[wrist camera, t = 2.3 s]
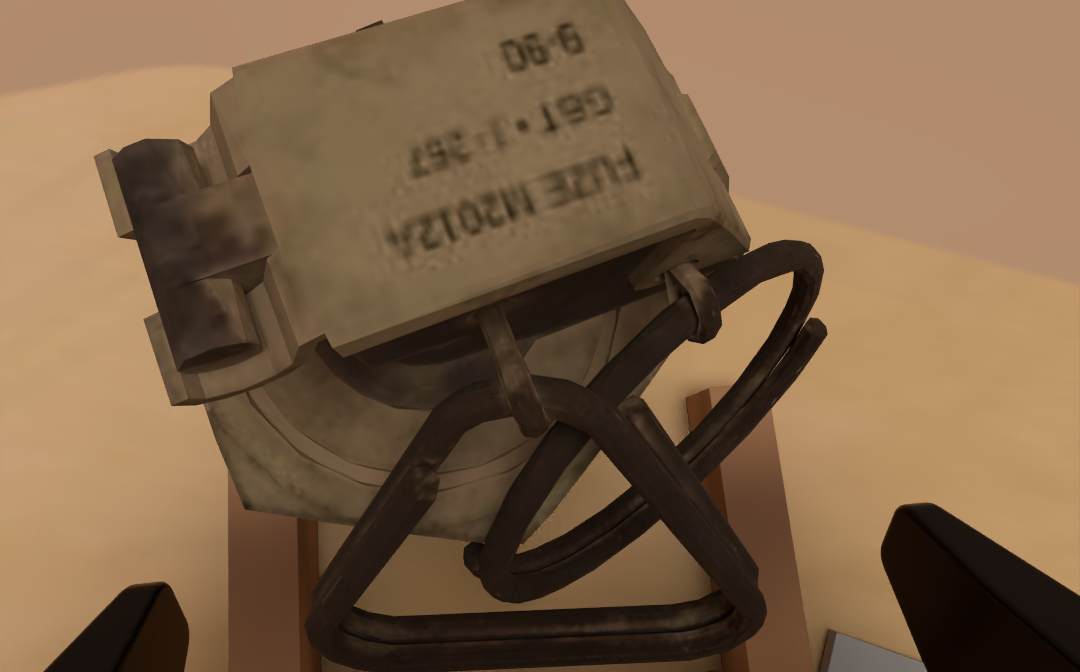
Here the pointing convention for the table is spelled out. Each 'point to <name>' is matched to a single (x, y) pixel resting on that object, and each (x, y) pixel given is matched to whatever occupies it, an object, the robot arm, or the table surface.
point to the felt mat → (863, 657)
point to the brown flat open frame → (763, 528)
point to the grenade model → (465, 316)
